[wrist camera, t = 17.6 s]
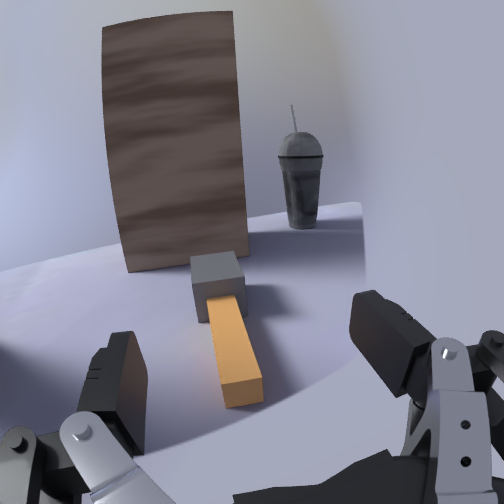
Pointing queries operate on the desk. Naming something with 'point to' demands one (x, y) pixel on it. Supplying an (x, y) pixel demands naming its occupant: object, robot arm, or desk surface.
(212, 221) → the brown wooden tall block
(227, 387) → the mallet
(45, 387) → the desk surface
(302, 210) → the beverage cup
